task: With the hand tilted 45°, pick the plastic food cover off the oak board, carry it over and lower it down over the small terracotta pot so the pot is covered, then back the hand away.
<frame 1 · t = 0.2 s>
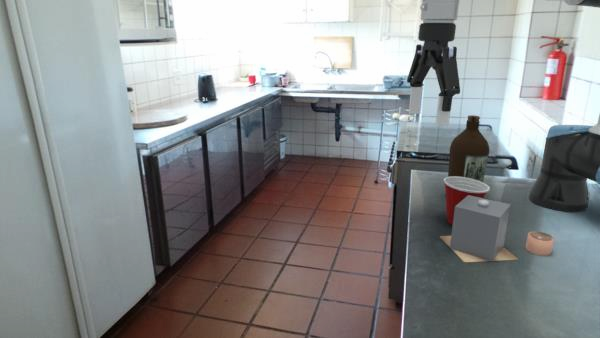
hand: (427, 119, 95), 28 cm above the countertop, tool pointing down, fingers open, 13 cm apart
food cover: (476, 247, 92), point 1 cm above the countertop, touching oak board
oak board: (476, 251, 92), on the countertop
terracotta pot: (537, 254, 91), on the countertop
olive oil: (462, 199, 123), on the countertop
plastic cup: (460, 227, 105), on the countertop
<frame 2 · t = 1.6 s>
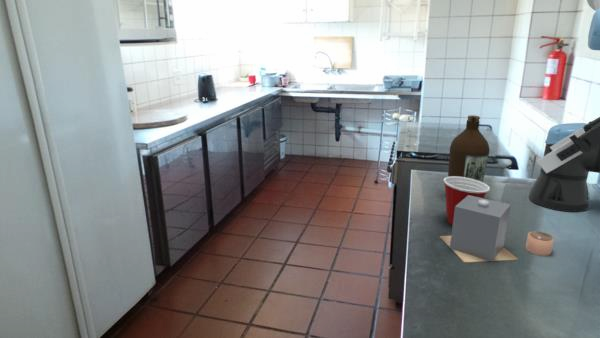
hand: (548, 159, 79), 24 cm above the countertop, tool tilted 45°, fingers open, 13 cm apart
nothing on the countertop moved.
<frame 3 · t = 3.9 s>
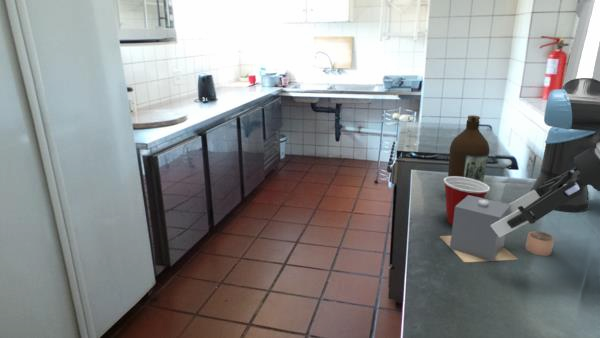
hand: (503, 220, 85), 10 cm above the countertop, tool tilted 45°, fingers open, 13 cm apart
nothing on the countertop moved.
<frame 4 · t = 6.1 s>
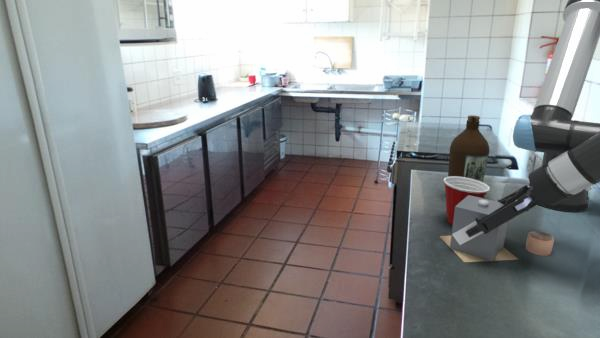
hand: (463, 231, 93), 4 cm above the countertop, tool tilted 45°, fingers closed on food cover, 9 cm apart
food cover: (476, 247, 92), point 1 cm above the countertop, touching gripper, oak board
everything else where it was.
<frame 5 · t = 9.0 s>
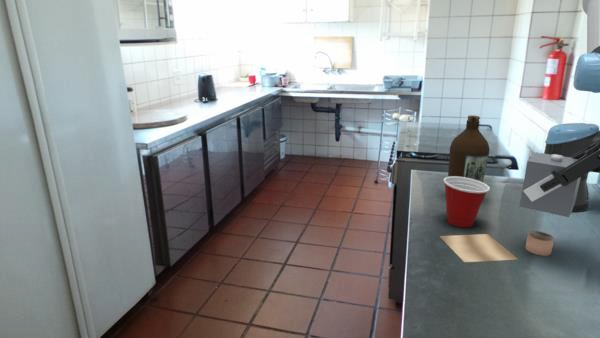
hand: (532, 189, 89), 15 cm above the countertop, tool tilted 45°, fingers closed on food cover, 9 cm apart
food cover: (547, 205, 88), point 12 cm above the countertop, touching gripper
everything else where it was.
when the fingers open (4 cm above the countertop, at t = 11.8 s): food cover drops 1 cm, on the countertop.
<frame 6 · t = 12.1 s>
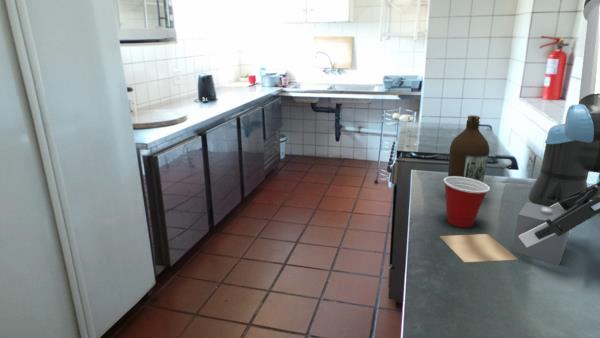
hand: (529, 230, 91), 5 cm above the countertop, tool tilted 45°, fingers open, 13 cm apart
food cover: (537, 254, 91), on the countertop
everything else where it was.
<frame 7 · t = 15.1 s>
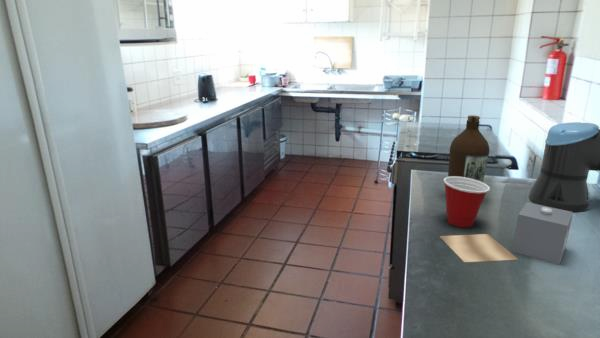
nothing on the countertop moved.
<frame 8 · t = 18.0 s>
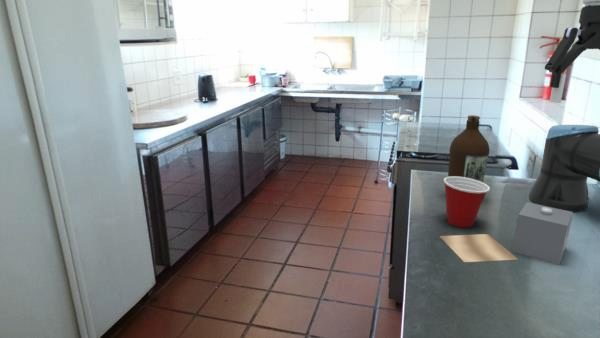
hand: (581, 102, 97), 32 cm above the countertop, tool pointing down, fingers open, 13 cm apart
nothing on the countertop moved.
at the end: food cover 0.1 cm from the terracotta pot (horizontally); food cover on the countertop; food cover tilted 0° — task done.
